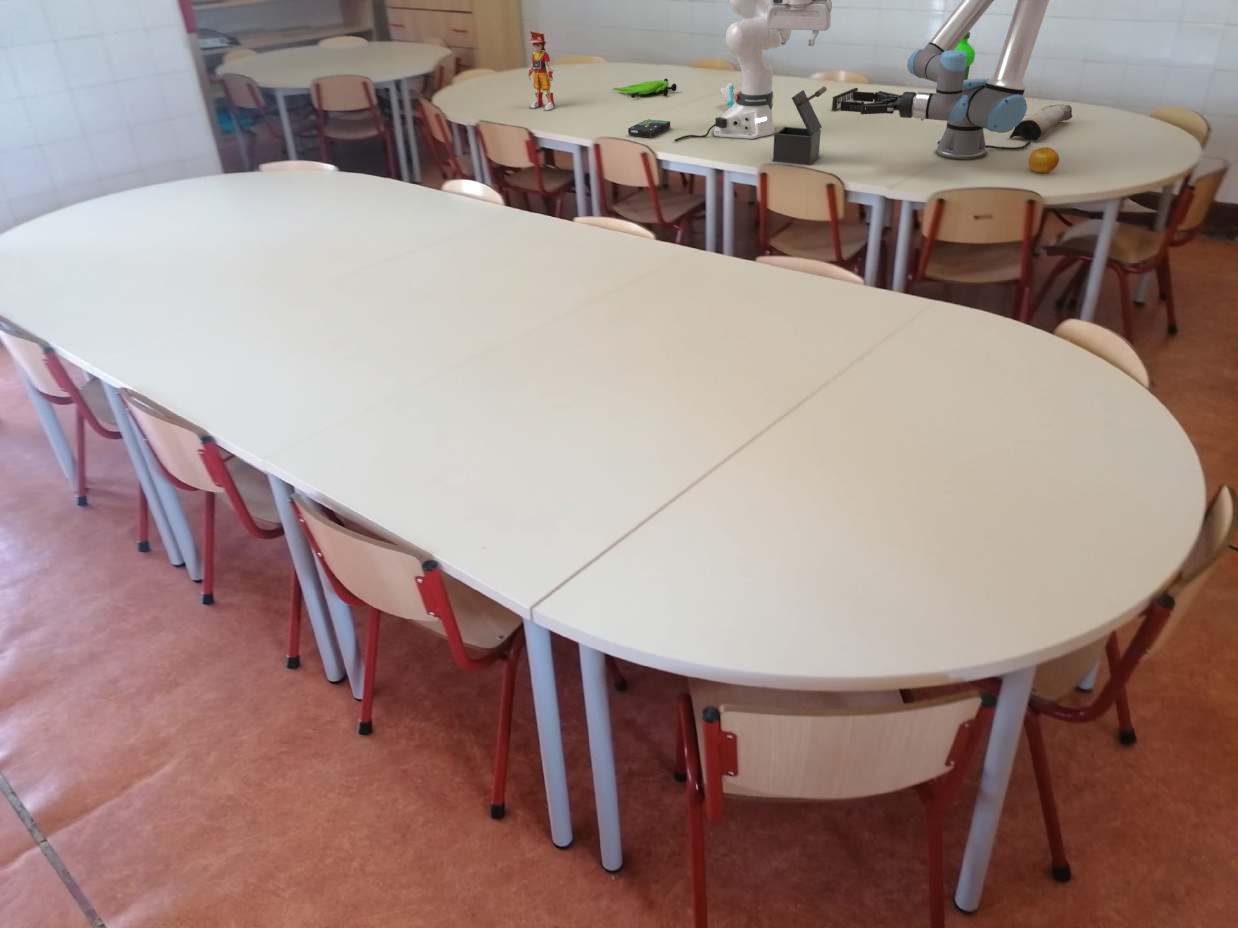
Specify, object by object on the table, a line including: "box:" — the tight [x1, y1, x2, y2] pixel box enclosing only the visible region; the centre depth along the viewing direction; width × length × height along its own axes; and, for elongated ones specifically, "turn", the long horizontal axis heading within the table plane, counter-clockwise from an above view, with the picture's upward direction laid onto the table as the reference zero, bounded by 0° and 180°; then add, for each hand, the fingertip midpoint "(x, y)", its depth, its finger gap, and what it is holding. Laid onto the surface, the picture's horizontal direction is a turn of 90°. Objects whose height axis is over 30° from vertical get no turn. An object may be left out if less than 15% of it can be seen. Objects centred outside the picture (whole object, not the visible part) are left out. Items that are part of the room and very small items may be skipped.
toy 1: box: [527, 31, 556, 111], centre depth 374 cm, size 12×9×30 cm
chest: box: [772, 126, 822, 166], centre depth 302 cm, size 13×10×9 cm
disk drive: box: [627, 118, 671, 138], centre depth 341 cm, size 10×3×15 cm
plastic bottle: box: [954, 31, 976, 80], centre depth 348 cm, size 10×10×25 cm
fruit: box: [1027, 147, 1060, 174], centre depth 278 cm, size 8×8×8 cm
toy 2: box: [612, 78, 677, 99], centre depth 396 cm, size 28×5×30 cm
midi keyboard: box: [831, 87, 859, 111], centre depth 357 cm, size 18×1×5 cm, turn 138°
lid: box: [791, 86, 827, 136], centre depth 292 cm, size 14×10×8 cm
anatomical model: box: [719, 82, 742, 108], centre depth 364 cm, size 15×10×10 cm
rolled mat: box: [1009, 103, 1073, 142], centre depth 315 cm, size 30×9×10 cm
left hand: (797, 45), depth 285 cm, fingers open, 8 cm apart
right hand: (847, 101), depth 286 cm, fingers open, 13 cm apart
